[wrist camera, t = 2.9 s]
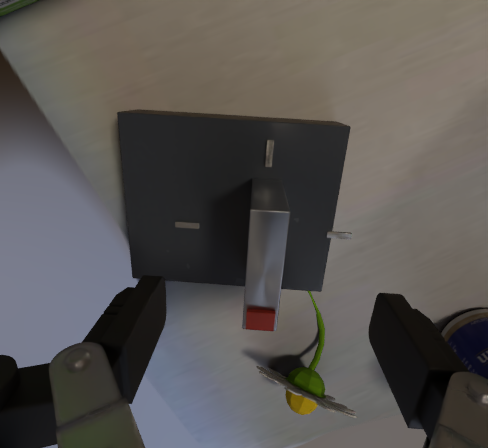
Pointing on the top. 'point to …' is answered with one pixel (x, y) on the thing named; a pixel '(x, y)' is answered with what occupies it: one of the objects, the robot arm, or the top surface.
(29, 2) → the ink box
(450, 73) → the top surface
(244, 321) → the gray block
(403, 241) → the top surface
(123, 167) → the panel
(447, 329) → the pill bottle
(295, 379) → the decorative flower
